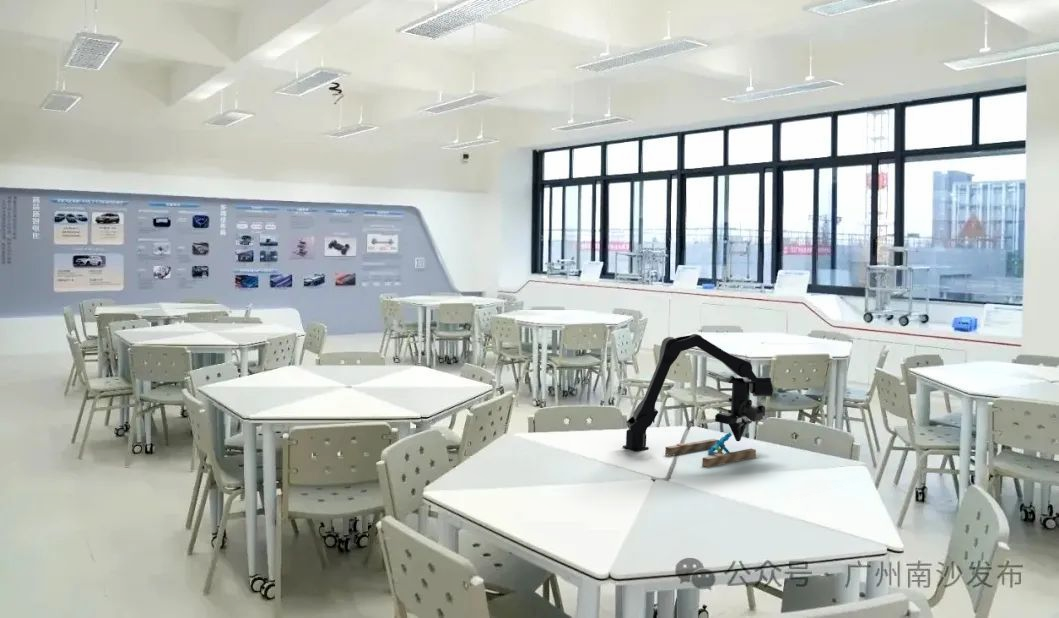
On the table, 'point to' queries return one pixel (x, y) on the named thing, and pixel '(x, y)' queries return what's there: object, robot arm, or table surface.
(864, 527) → the table surface
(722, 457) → the guide channel
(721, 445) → the gear
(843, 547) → the table surface
